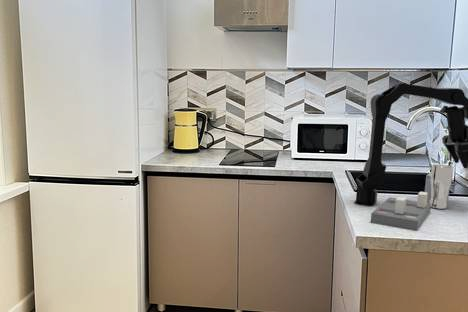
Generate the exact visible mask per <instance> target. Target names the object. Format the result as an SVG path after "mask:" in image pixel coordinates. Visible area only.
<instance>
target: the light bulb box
mask: <svg viewBox="0 0 468 312" xmlns="http://www.w3.org/2000/svg"><path fill="white" fill-rule="evenodd" d="M425 176H426V177H425V184H424V185H425V187H424V192H427V193H428V196H427V203H429V202H430V199H431V186H430V176H431V172H429V173H428V174H426V175H425ZM449 197H450V190H449V191H448V195H447V201H449Z"/></svg>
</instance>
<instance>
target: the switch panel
mask: <svg viewBox="0 0 468 312" xmlns="http://www.w3.org/2000/svg"><path fill="white" fill-rule="evenodd" d="M397 198H398V197H396V198H395V197H388V198H387V199H386V200H385V201H384V202H383V203H381V204H380V205H379V206H378V207H377V208H376V209H374V211H372V212H371V213H370V214H371V216H370V223H372V222H373V224H379V225H385V226H390V227H395V228H396V227H397V228H401V229H407V230H413V231H418V230H419V229H420V227H421V226H422V224H423V223H424V221H425V220H426V218H427V217H428V216H429V215H430V213H431V210H432V209H431V208H432V207H431V203H427V205H426V207H425V208H422V207H417V201H418V200H409V199H406V209H405V212H404V213H403V214H398V213H395V204H396V199H397Z"/></svg>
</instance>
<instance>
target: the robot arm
mask: <svg viewBox="0 0 468 312" xmlns="http://www.w3.org/2000/svg"><path fill="white" fill-rule="evenodd" d="M404 95H409V96H416V97H421V98H428V99H433V100H436V101H438V102H441V103H444V104H447V105H443V106H442V108H441V109H440V110H439V113H440V114H441V113H442V114H445V115H446V122H447V126H445V129H446V130H447V132H448V134H447V135H443V137H442V138H441V141H442V144H443V145H444V147H445V149H446V151H448V153H449V154H450V156H451V158H452V160H453V161H454V163H455V164H458V163H459V162H460V163H461V166H462V167H463V169H468V124H466V119H467V120H468V97H466V94H465V92H464V91H463V89H461V88H459V87H458V88H456V87H455V88H454V87H444V88H443V87H441V88H440V87H439V88H438V87H437V88H436V87H429V86H422V85H417V84H411V83H406V82H397V83H396V84H395V85H393V86H391V87H390V88H388V89H386V90H384V91H383V92H381V93H378V94H377V93H376V94H374V96H372V97H371V99H370V112H371V118H372V123H371V124H372V125H371V133H370V142H369V143H370V144H369V151H368V158H367V160H366V161H365V164H364V166H363V167H364V168H363V170H362V173H361V174H360V175H359V176H358V177H357V178H355V179H356V183H357V184H358V185H357V186H356V197H355V198H356V199H355V201H354V202H353V203H354V204H356V205H364V206H367V207H368V206H370V207H372V206H374V205H375V204H376V203H377V201H378V191H377V189H378V186H379V185H380V184H381V183H382V182H383V179H384V178H386V170H387V165H385V164H384V163H383V162H382V156H383V155H382V154H383V146H384V137H385V130H386V129H385V127H386V121H387V119H388V116H389V115H390V112H391V109H392V105H393V104H395V102H398V100H399V99H400V98H401V97H403V96H404ZM448 105H452V106H448ZM459 106H460V107H459Z"/></svg>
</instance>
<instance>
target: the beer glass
mask: <svg viewBox="0 0 468 312" xmlns="http://www.w3.org/2000/svg"><path fill="white" fill-rule="evenodd" d="M430 173H431V176H430V186H431V199H430V202H429V203H431V208H434V209H439V210H440V209H442V210H443V209H444V210H445V209H447V208H448V205H447V202H448V200H447V195H448V191H449V192H450V188H451V186H452V185H451V184H452V178H453V166H452V165H447V164H435V163H434V164H432V166H431V171H430Z"/></svg>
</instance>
